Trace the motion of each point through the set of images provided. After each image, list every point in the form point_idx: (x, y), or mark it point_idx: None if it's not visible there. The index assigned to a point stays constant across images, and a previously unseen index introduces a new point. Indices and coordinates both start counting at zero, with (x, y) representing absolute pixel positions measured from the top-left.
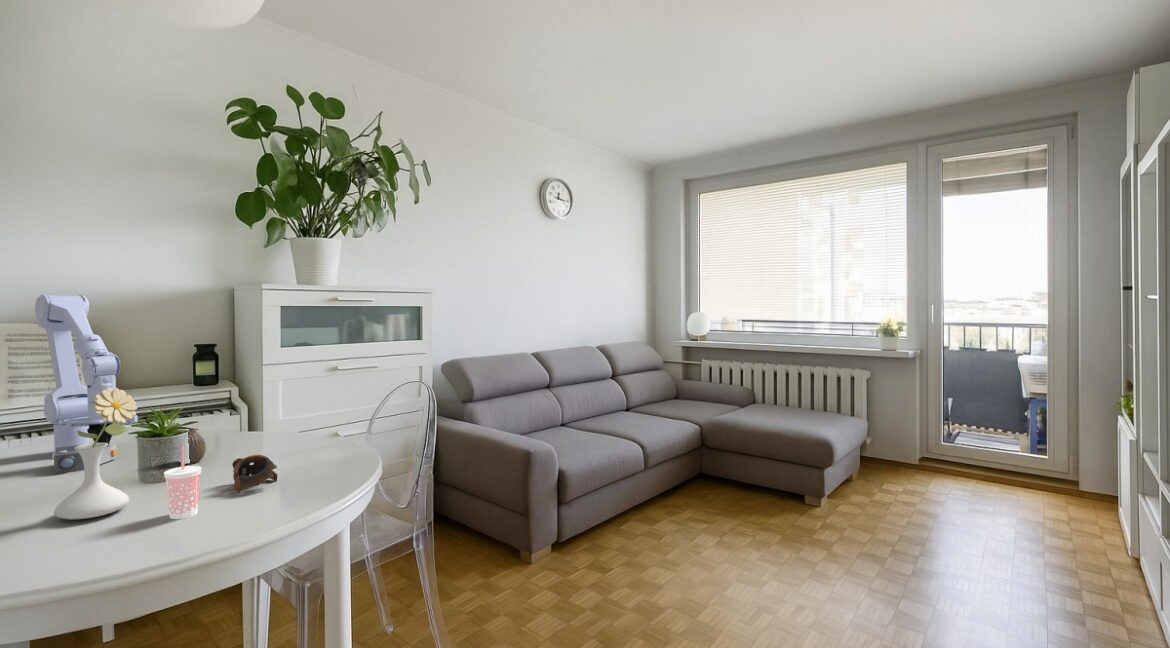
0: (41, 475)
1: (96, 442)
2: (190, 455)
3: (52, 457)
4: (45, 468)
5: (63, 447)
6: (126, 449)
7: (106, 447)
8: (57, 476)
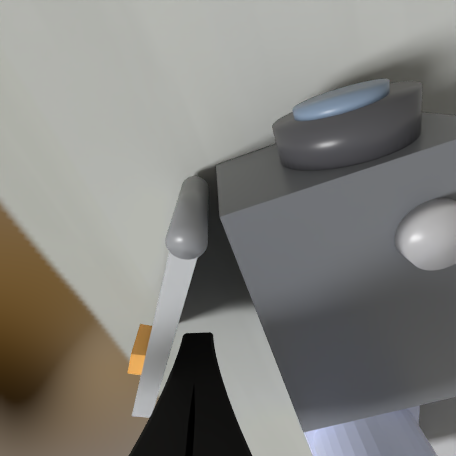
0: (445, 99)
1: (220, 408)
2: None
3: None
4: None
5: (425, 389)
6: None
7: (146, 355)
8: (349, 13)
